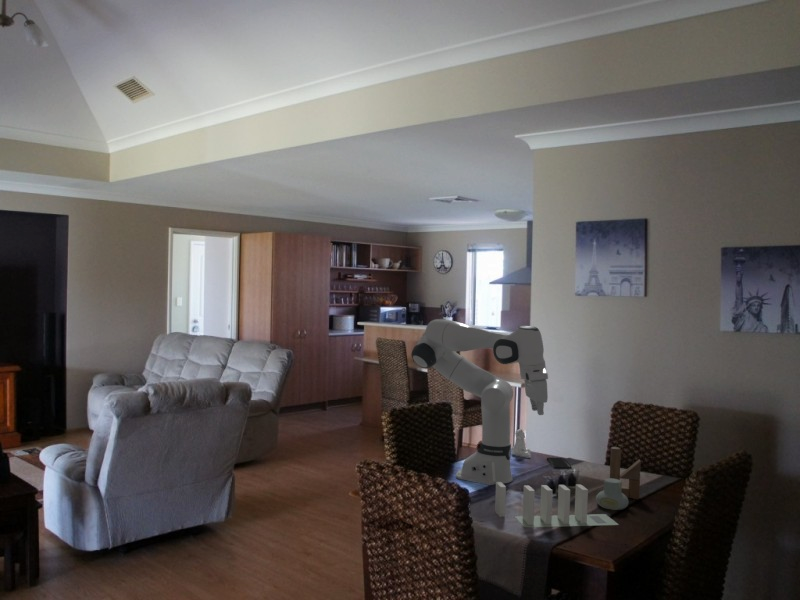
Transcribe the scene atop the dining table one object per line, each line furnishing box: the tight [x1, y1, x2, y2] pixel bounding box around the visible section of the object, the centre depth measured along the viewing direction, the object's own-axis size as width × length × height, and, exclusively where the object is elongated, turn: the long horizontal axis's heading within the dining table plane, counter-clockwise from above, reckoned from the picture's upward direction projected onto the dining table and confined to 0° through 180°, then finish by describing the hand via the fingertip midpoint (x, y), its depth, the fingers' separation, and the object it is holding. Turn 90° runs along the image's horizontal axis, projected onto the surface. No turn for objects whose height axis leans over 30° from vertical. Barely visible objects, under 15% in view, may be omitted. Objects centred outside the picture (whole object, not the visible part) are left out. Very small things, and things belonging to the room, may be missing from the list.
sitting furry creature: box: [511, 428, 532, 459], centre depth 310 cm, size 10×9×12 cm
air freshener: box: [595, 477, 629, 511], centre depth 240 cm, size 11×8×10 cm
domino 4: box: [556, 484, 571, 524], centre depth 223 cm, size 2×6×11 cm, turn 9°
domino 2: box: [522, 484, 536, 525], centre depth 221 cm, size 2×6×11 cm, turn 9°
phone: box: [546, 457, 573, 470], centre depth 297 cm, size 8×1×15 cm
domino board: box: [514, 513, 620, 529], centre depth 224 cm, size 32×10×1 cm, turn 98°
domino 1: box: [494, 482, 507, 518], centre depth 228 cm, size 2×6×11 cm, turn 8°
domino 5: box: [574, 484, 589, 523], centre depth 224 cm, size 2×6×11 cm, turn 8°
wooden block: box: [609, 446, 642, 500], centre depth 253 cm, size 4×11×18 cm, turn 77°
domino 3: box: [539, 484, 554, 524], centre depth 222 cm, size 2×6×11 cm, turn 9°
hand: (537, 412), depth 234 cm, fingers open, 8 cm apart
